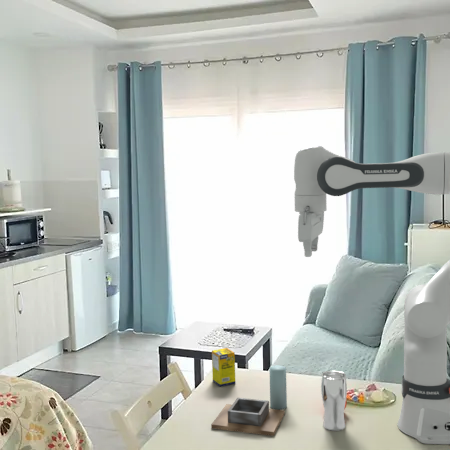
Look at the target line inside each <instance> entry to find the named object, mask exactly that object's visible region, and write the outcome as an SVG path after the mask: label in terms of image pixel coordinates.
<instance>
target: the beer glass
mask: <svg viewBox="0 0 450 450" xmlns="http://www.w3.org/2000/svg"><path fill="white" fill-rule="evenodd" d="M347 384H348V383H347V375H346V373H345V372H344V371H340V370H332V369H331V370H325V371H324V372H322V374H321V386H320V388H321V389H320V390H321V391H320V392H321V398H322V399H321V400H322V404H323V410H324V419H323V424H322V425H323V428H324V429H326V430H328V431H332V432H340V431H343V430H344V429H346V421H345V410H344V408H345V402H346V401H347V395H348V393H347V392H348V389H347V388H348V387H347ZM345 409H346V408H345Z"/></svg>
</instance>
